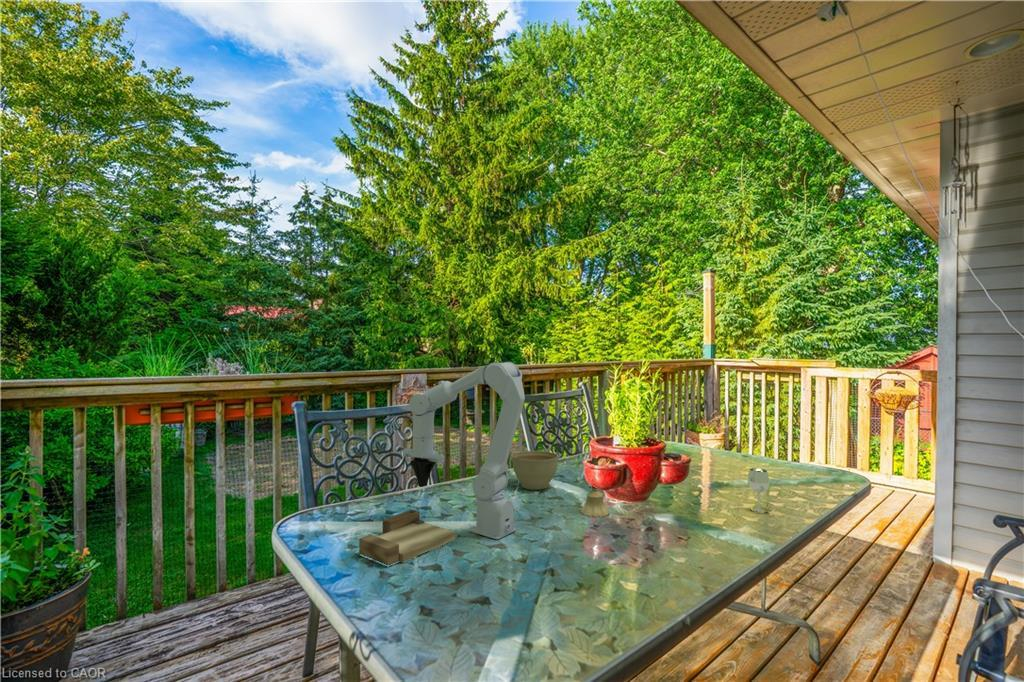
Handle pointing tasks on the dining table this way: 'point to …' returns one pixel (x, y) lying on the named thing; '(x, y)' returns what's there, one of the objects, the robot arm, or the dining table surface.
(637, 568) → the dining table surface
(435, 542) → the stool top
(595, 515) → the hand bell
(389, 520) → the folding leg
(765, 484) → the wineglass
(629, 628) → the dining table surface
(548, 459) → the planter bowl
